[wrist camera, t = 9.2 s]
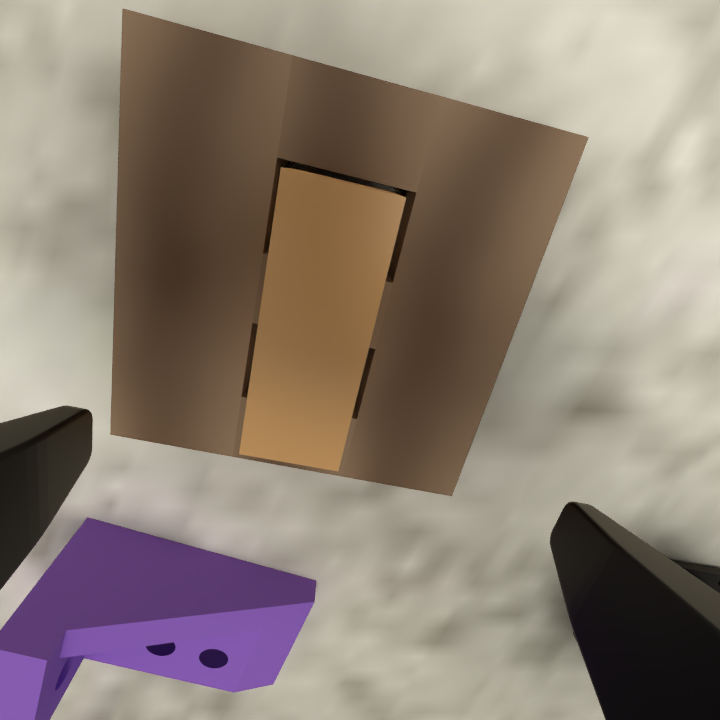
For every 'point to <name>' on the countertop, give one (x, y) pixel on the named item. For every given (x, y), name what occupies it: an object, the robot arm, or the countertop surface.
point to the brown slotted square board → (253, 232)
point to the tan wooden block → (317, 315)
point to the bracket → (147, 618)
